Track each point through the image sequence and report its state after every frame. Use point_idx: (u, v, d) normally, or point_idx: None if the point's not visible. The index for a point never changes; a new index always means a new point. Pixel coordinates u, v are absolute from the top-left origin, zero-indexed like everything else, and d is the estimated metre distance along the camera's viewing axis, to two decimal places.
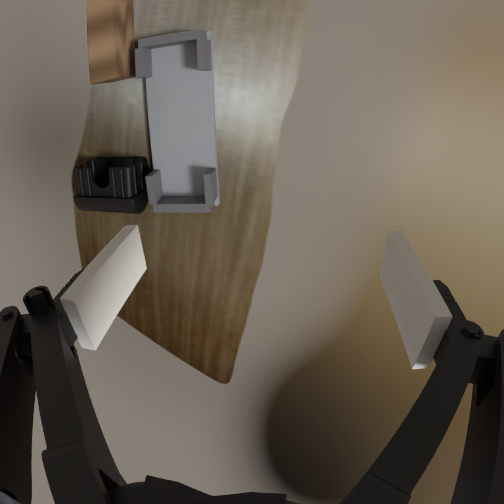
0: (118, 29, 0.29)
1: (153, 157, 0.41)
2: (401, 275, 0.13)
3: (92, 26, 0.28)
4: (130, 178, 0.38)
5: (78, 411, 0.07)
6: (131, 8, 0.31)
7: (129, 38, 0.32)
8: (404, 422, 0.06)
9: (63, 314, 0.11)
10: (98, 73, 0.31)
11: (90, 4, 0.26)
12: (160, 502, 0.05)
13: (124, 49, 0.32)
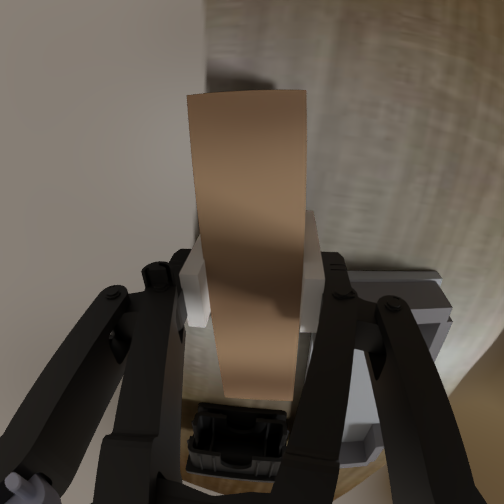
0: None
1: None
2: None
3: (226, 291, 0.14)
4: None
5: (162, 406, 0.07)
6: None
7: None
8: (302, 396, 0.07)
9: (180, 290, 0.12)
10: (245, 387, 0.17)
11: (212, 216, 0.12)
12: (160, 502, 0.05)
13: None
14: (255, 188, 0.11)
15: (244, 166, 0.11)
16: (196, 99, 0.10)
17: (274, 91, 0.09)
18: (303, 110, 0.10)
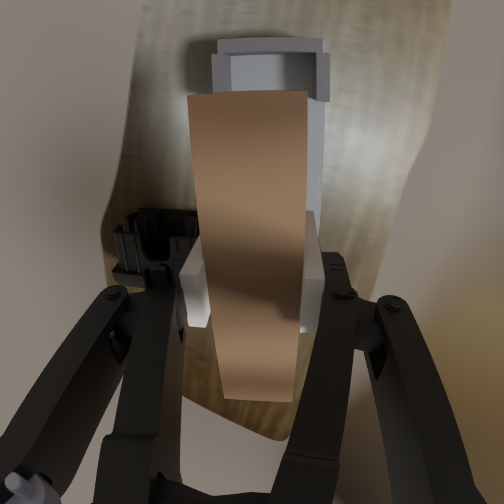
0: None
1: None
2: None
3: (226, 292, 0.13)
4: None
5: (162, 406, 0.07)
6: None
7: None
8: (302, 396, 0.07)
9: (180, 290, 0.12)
10: (244, 388, 0.17)
11: (212, 217, 0.12)
12: (160, 502, 0.05)
13: None
14: (256, 189, 0.11)
15: (245, 167, 0.11)
16: (196, 99, 0.10)
17: (275, 92, 0.09)
18: (304, 111, 0.10)
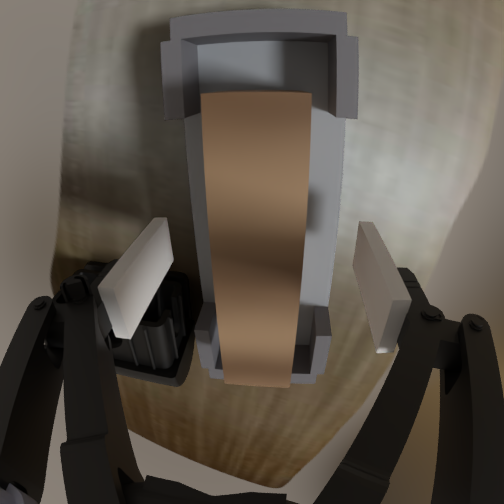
0: None
1: (203, 281, 0.22)
2: (368, 263, 0.14)
3: (231, 279, 0.14)
4: (165, 342, 0.19)
5: (104, 406, 0.07)
6: None
7: None
8: (372, 410, 0.07)
9: (100, 303, 0.11)
10: (244, 374, 0.18)
11: (220, 207, 0.13)
12: (160, 502, 0.05)
13: None
14: (262, 181, 0.12)
15: (252, 161, 0.12)
16: (209, 97, 0.11)
17: (282, 93, 0.10)
18: (308, 111, 0.10)
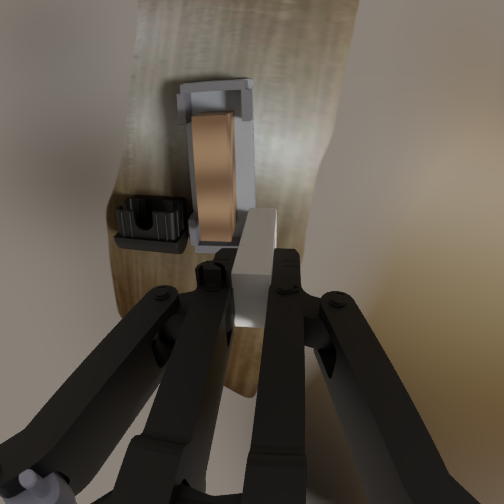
0: (230, 189, 0.39)
1: (193, 199, 0.45)
2: None
3: (202, 182, 0.37)
4: (174, 223, 0.42)
5: (198, 413, 0.07)
6: (234, 151, 0.40)
7: (234, 188, 0.42)
8: (258, 395, 0.07)
9: (231, 290, 0.12)
10: (209, 233, 0.41)
11: (198, 154, 0.36)
12: None
13: (232, 206, 0.41)
14: (211, 144, 0.35)
15: (208, 138, 0.35)
16: (194, 117, 0.33)
17: (216, 115, 0.33)
18: (225, 121, 0.33)
